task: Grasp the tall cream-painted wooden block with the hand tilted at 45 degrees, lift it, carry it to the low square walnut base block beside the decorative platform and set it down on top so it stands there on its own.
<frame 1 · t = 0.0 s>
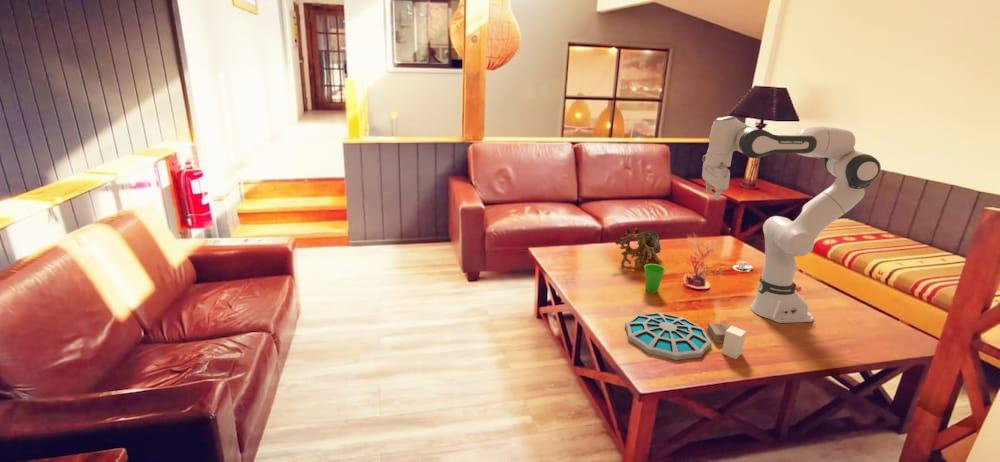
hand: (712, 196, 187), 48 cm above the table, tool pointing down, fingers open, 8 cm apart
decorative coral sculpture: (636, 262, 248), on the table
teacup and saucer: (746, 272, 240), on the table
cream pillar block: (731, 353, 170), on the table
cup: (651, 290, 217), on the table
decorative platform: (666, 338, 180), on the table
walnut base block: (721, 337, 180), on the table
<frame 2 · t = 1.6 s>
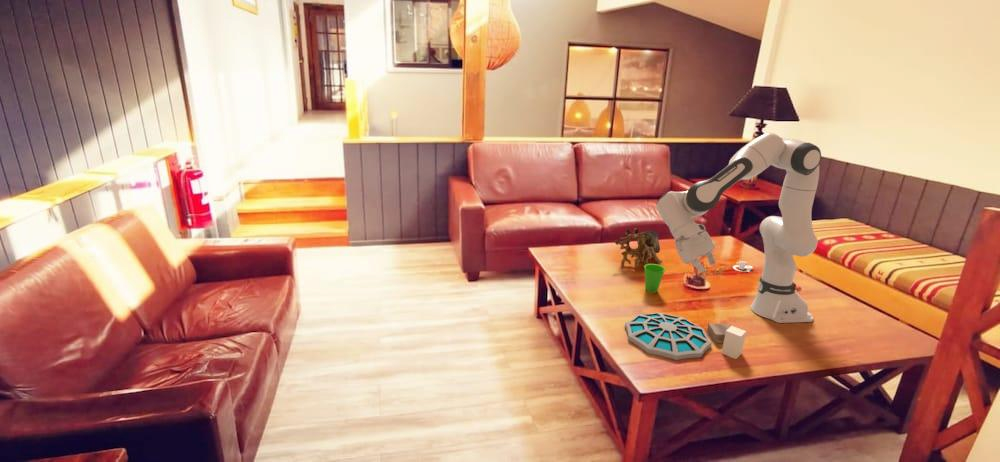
hand: (708, 267, 170), 28 cm above the table, tool tilted 45°, fingers open, 8 cm apart
nothing on the table moved.
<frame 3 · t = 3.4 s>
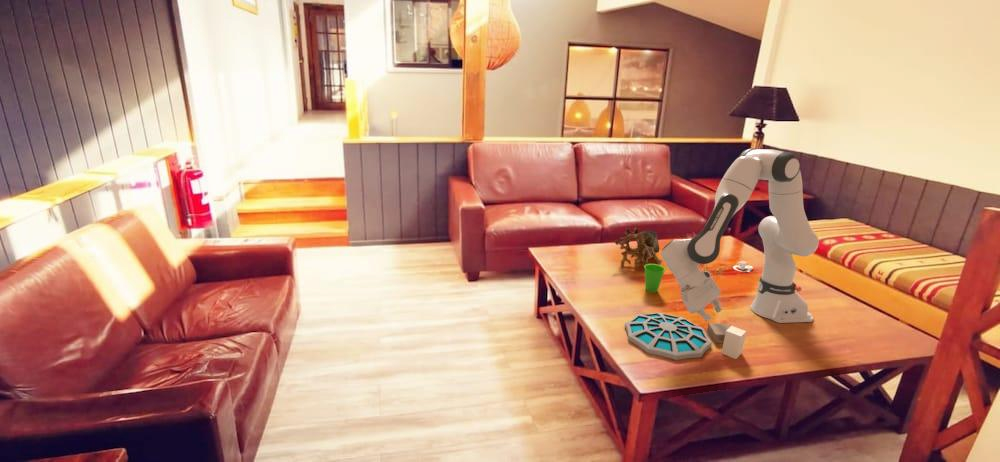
hand: (714, 315, 171), 12 cm above the table, tool tilted 45°, fingers open, 8 cm apart
nothing on the table moved.
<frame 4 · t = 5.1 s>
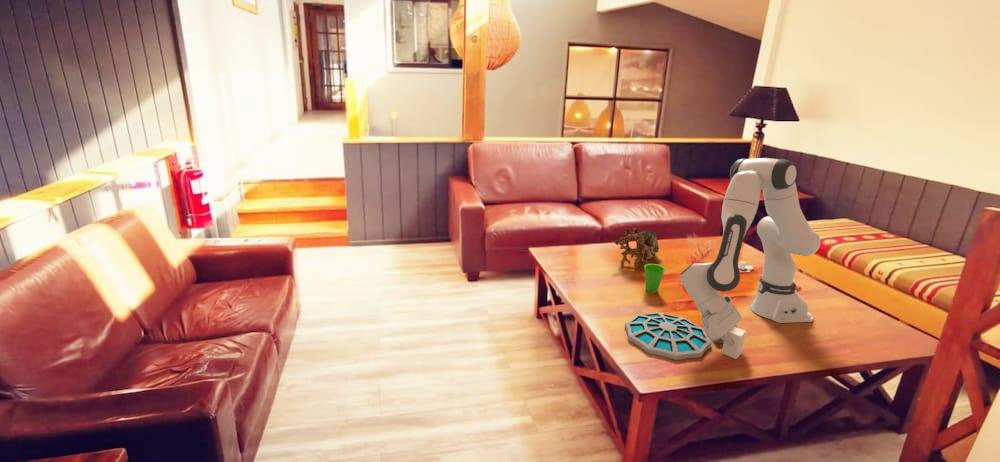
hand: (735, 341, 168), 5 cm above the table, tool tilted 45°, fingers closed on cream pillar block, 5 cm apart
cream pillar block: (731, 353, 170), on the table, touching gripper
everything else where it was.
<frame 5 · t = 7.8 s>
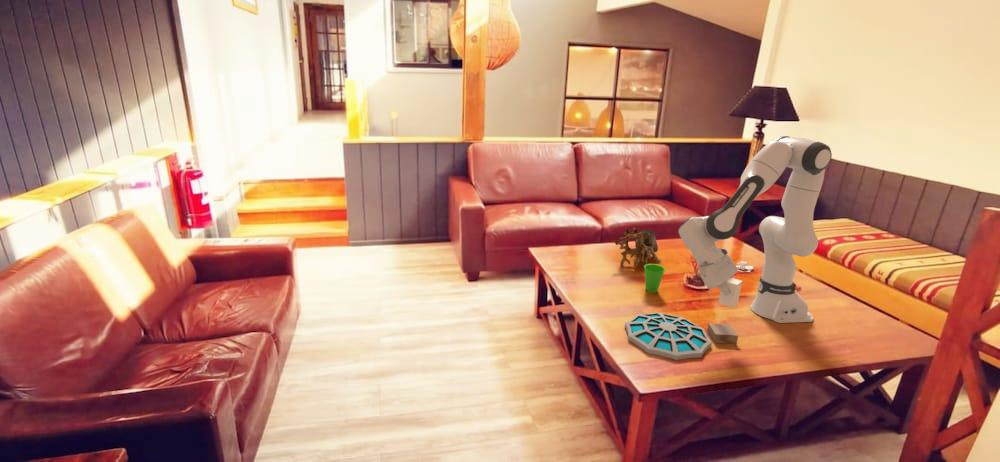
hand: (732, 291, 173), 19 cm above the table, tool tilted 45°, fingers closed on cream pillar block, 5 cm apart
cream pillar block: (728, 303, 175), point 14 cm above the table, touching gripper
everything else where it was.
when the fingers open (9 cm above the table, at t = 10.4 s): cream pillar block stays where it is, resting on walnut base block.
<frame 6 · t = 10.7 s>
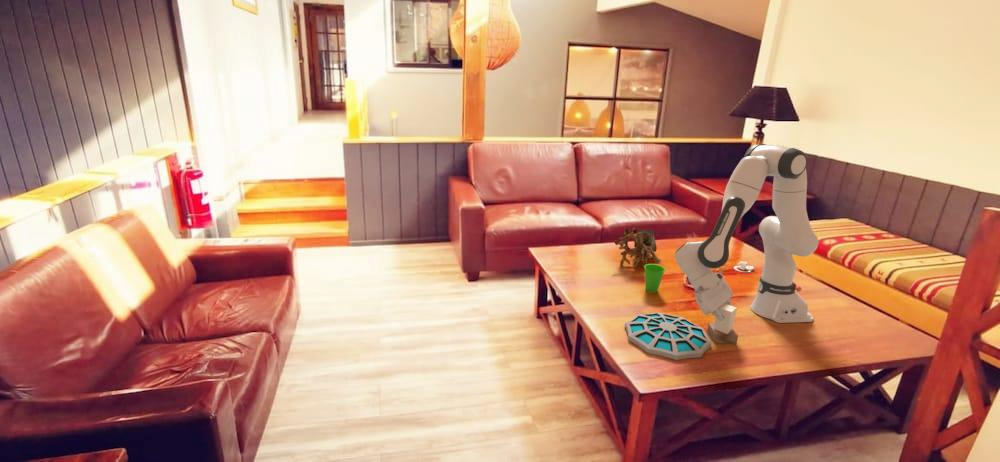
hand: (727, 316, 176), 9 cm above the table, tool tilted 45°, fingers open, 8 cm apart
cream pillar block: (722, 329, 179), point 3 cm above the table, touching walnut base block
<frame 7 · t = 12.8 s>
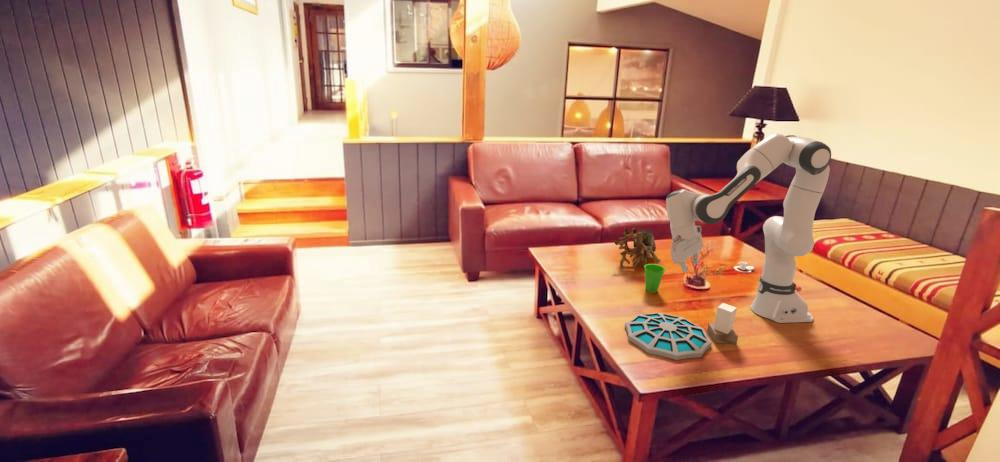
hand: (690, 267, 184), 22 cm above the table, tool tilted 20°, fingers open, 8 cm apart
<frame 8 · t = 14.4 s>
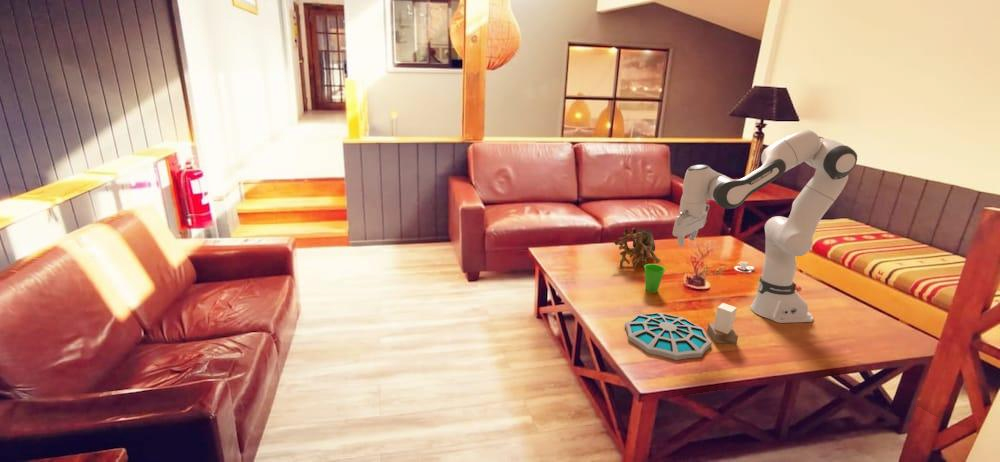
hand: (686, 242, 185), 31 cm above the table, tool pointing down, fingers open, 8 cm apart
at the end: cream pillar block 0.1 cm from the walnut base block (horizontally); cream pillar block point 3.5 cm above the table; cream pillar block tilted 0° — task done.
